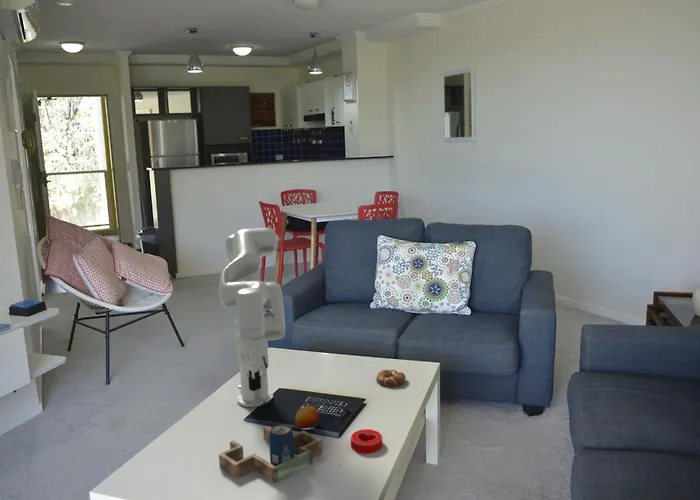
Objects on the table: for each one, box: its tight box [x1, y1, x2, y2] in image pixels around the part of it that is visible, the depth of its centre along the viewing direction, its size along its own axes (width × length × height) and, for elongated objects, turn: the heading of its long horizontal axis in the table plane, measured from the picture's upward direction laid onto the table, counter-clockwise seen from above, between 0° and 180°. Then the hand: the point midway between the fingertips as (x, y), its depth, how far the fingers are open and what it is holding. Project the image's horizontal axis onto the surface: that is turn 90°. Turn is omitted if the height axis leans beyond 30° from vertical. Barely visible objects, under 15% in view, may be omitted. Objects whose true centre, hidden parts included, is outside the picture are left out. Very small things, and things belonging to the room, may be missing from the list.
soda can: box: [268, 423, 296, 466], centre depth 177 cm, size 7×7×12 cm
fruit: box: [294, 405, 320, 430], centre depth 200 cm, size 8×8×8 cm
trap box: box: [218, 425, 323, 484], centre depth 182 cm, size 22×26×4 cm
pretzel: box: [375, 369, 407, 388], centre depth 234 cm, size 12×11×4 cm
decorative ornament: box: [350, 428, 383, 455], centre depth 189 cm, size 10×10×3 cm
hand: (255, 388), depth 183 cm, fingers closed
